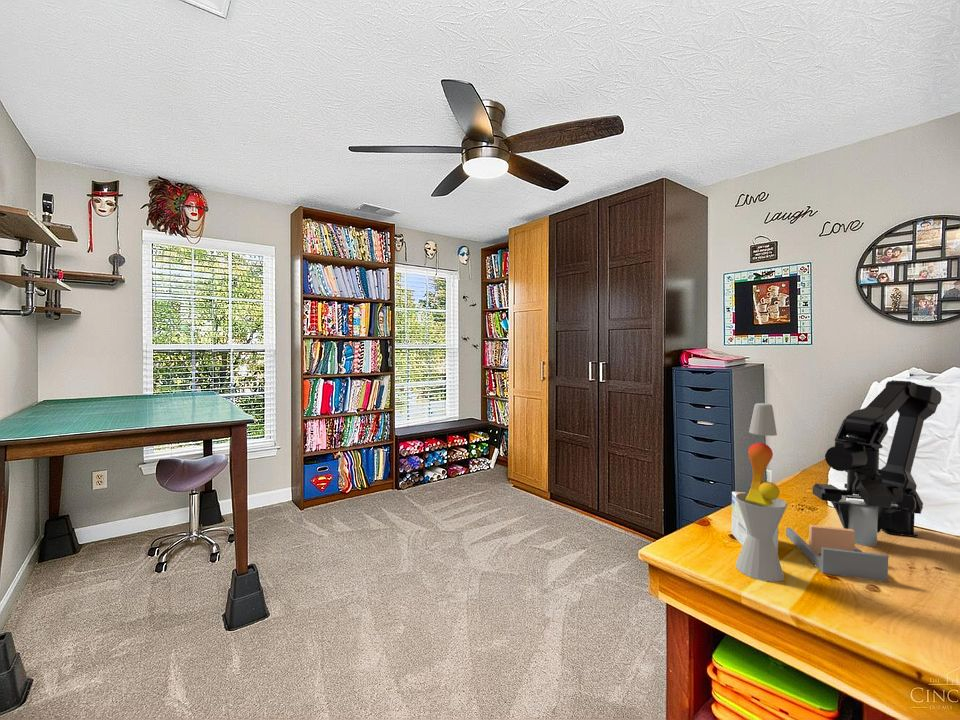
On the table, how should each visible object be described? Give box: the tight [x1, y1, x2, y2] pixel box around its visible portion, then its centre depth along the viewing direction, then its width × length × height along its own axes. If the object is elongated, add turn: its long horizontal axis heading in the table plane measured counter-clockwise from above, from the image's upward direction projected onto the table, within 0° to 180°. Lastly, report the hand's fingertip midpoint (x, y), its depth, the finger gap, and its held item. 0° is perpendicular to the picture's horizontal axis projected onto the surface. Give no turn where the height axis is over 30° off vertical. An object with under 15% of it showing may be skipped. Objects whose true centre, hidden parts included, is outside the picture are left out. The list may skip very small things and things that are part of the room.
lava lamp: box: [734, 402, 788, 583], centre depth 92 cm, size 9×9×35 cm
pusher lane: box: [785, 526, 889, 582], centre depth 100 cm, size 11×20×5 cm, turn 164°
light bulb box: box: [730, 491, 779, 555], centre depth 106 cm, size 11×7×11 cm, turn 168°
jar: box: [846, 499, 878, 547], centre depth 108 cm, size 6×6×9 cm
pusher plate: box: [808, 524, 856, 555], centre depth 100 cm, size 8×1×6 cm, turn 74°
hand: (860, 530), depth 108 cm, fingers closed on jar, 6 cm apart
